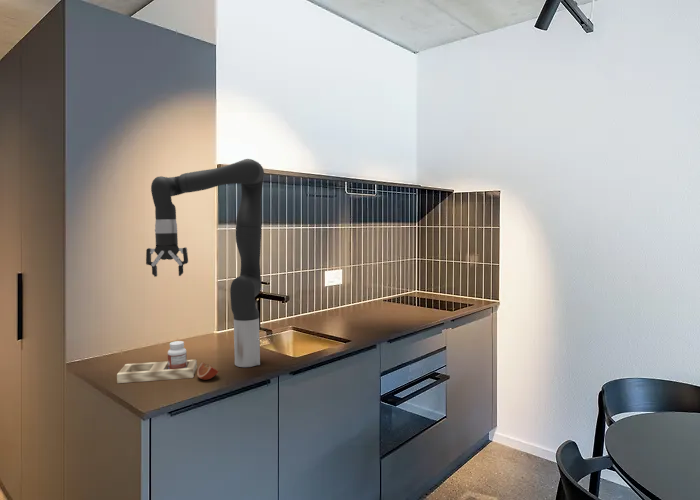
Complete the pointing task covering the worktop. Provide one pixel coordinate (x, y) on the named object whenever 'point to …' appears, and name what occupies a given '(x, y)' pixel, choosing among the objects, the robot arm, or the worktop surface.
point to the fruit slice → (206, 371)
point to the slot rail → (154, 372)
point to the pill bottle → (177, 355)
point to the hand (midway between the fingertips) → (167, 276)
